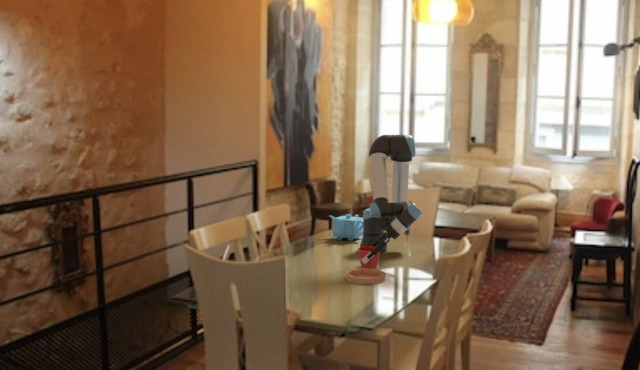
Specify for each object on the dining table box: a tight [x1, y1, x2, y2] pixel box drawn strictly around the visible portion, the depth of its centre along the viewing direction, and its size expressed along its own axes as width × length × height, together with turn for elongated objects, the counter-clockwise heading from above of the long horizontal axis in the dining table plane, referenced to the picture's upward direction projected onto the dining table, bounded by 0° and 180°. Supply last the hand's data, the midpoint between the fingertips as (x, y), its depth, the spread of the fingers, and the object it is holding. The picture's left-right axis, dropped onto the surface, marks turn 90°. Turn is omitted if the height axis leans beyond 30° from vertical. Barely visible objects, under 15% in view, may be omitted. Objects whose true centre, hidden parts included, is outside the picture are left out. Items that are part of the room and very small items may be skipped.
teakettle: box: [329, 213, 363, 242], centre depth 405 cm, size 19×19×15 cm
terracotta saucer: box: [344, 267, 387, 285], centre depth 316 cm, size 18×18×3 cm
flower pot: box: [357, 246, 381, 269], centre depth 337 cm, size 11×11×10 cm
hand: (363, 259), depth 337 cm, fingers closed on flower pot, 10 cm apart
